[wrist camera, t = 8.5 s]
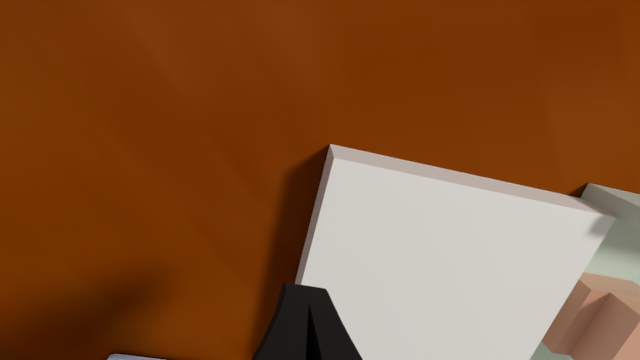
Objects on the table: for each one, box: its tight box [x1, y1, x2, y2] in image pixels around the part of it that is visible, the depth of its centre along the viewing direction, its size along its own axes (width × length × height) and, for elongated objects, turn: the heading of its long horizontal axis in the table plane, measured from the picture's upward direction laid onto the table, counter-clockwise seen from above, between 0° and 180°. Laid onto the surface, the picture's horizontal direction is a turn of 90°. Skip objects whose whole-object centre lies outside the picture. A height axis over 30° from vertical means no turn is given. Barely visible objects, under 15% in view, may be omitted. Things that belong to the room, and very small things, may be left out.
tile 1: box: [541, 272, 640, 355], centre depth 22 cm, size 5×5×2 cm
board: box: [295, 144, 617, 360], centre depth 20 cm, size 14×16×2 cm
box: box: [530, 183, 640, 360], centre depth 21 cm, size 16×13×4 cm
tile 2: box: [569, 292, 640, 360], centre depth 20 cm, size 5×5×2 cm
